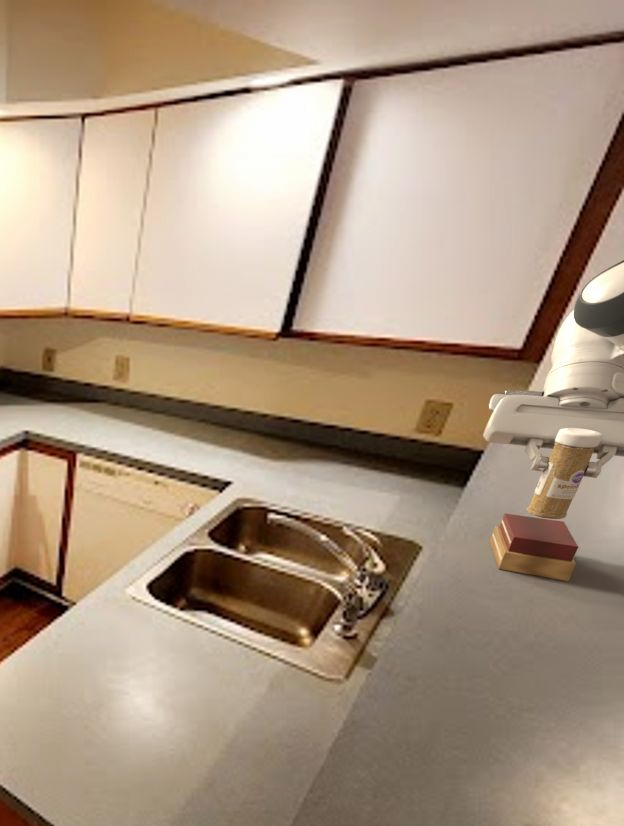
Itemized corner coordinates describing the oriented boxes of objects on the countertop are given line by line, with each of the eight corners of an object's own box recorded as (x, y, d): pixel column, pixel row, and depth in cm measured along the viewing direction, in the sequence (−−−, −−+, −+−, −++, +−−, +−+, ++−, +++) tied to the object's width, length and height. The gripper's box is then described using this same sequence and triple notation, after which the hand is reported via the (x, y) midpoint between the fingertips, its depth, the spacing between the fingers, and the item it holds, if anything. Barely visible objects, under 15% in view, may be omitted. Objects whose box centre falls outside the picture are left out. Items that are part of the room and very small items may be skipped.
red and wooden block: (553, 550, 103) (566, 520, 100) (568, 581, 94) (583, 548, 92) (489, 540, 107) (500, 511, 105) (497, 568, 98) (510, 537, 96)
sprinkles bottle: (555, 522, 95) (593, 436, 89) (519, 512, 98) (552, 429, 93) (572, 516, 96) (610, 432, 90) (535, 506, 100) (569, 425, 94)
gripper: (498, 377, 100) (479, 451, 97) (690, 389, 88) (675, 473, 85) (487, 399, 105) (469, 470, 102) (667, 413, 93) (652, 493, 90)
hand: (564, 472), depth 94 cm, fingers closed on sprinkles bottle, 4 cm apart
